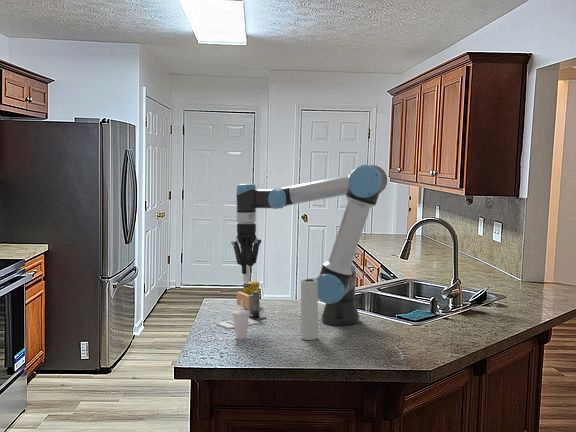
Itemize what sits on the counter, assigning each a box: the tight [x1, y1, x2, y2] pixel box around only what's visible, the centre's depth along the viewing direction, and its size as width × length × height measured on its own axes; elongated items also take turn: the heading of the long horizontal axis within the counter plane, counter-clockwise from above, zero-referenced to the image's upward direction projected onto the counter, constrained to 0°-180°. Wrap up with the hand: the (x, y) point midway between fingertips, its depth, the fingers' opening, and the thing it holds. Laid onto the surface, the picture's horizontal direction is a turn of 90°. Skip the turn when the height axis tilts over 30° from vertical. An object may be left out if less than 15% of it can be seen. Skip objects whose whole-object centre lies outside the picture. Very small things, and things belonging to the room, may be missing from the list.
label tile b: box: [216, 320, 235, 330], centre depth 258 cm, size 9×6×1 cm, turn 37°
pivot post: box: [249, 290, 267, 321], centre depth 270 cm, size 6×6×11 cm
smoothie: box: [231, 300, 251, 340], centre depth 238 cm, size 6×6×14 cm
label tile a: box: [248, 319, 261, 327], centre depth 263 cm, size 9×6×1 cm, turn 37°
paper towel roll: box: [300, 278, 319, 341], centre depth 238 cm, size 7×6×21 cm
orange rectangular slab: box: [236, 291, 253, 316], centre depth 279 cm, size 16×2×8 cm, turn 28°
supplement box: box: [242, 280, 260, 295], centre depth 293 cm, size 6×6×11 cm
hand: (246, 281), depth 262 cm, fingers closed
